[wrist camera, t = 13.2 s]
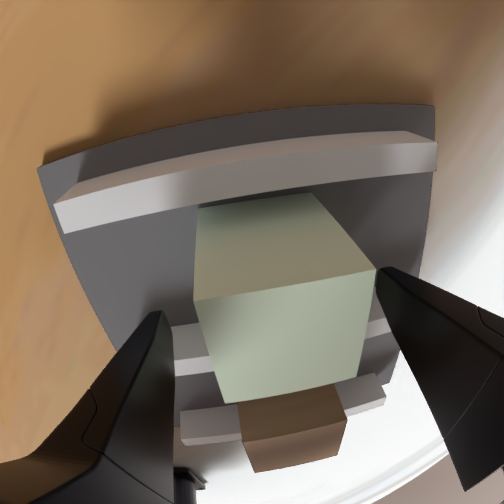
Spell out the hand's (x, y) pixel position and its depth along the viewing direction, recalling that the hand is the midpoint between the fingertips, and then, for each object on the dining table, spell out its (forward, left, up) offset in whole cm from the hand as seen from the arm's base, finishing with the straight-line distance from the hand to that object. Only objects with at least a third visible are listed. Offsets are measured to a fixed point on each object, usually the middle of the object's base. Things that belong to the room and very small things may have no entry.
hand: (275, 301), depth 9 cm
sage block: (0, 0, -3) cm, 3 cm away
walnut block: (-7, 0, -3) cm, 8 cm away
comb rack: (-3, 0, -3) cm, 5 cm away
